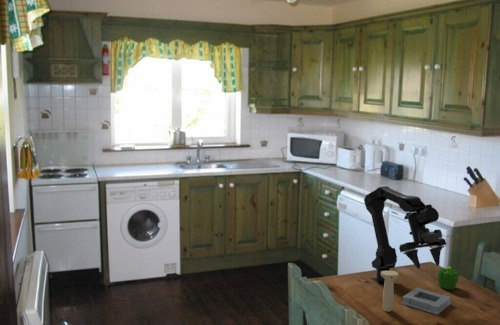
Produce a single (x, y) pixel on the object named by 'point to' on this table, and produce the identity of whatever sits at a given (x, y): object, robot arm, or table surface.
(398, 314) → the table surface
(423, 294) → the block
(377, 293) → the table surface
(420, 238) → the robot arm
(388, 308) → the handle
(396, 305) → the table surface
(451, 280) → the bell pepper
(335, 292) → the table surface
